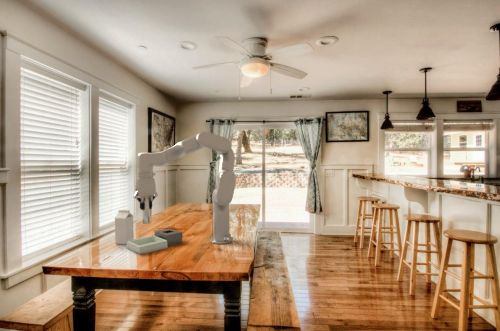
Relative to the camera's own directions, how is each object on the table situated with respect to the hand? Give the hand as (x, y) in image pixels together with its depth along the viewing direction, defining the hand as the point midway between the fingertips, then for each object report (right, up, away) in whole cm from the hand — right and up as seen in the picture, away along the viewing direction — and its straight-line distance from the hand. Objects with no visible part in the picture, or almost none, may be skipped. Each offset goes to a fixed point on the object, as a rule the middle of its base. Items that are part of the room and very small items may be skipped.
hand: (146, 208), depth 155 cm
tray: (0, -22, 0) cm, 22 cm away
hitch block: (+9, -21, +12) cm, 26 cm away
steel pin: (0, -8, 0) cm, 8 cm away
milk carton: (-17, -22, +11) cm, 30 cm away
